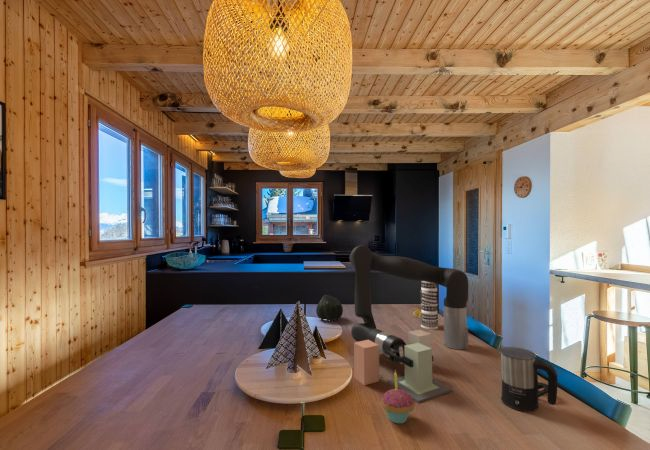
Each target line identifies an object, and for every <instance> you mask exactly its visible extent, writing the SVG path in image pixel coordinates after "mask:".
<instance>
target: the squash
mask: <svg viewBox="0 0 650 450" xmlns="http://www.w3.org/2000/svg"><path fill="white" fill-rule="evenodd" d="M343 313H344V311H343V305H342V302H341V301H340V300H339V299H337V298H336V297H334V296H332V295H330V294H324V295H323V296H322V297H321V299H320V301H318V303H317V306H316V315H317V317H318V318H319V319H320V318H321V319H327V320H330V321H331V322H333V321H337V320H339V319H340V318H341V317H342V315H343ZM321 319H320V320H321Z"/></svg>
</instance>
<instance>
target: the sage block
mask: <svg viewBox="0 0 650 450" xmlns="http://www.w3.org/2000/svg"><path fill="white" fill-rule="evenodd" d="M432 355H433V348H432V347H431V348H429V347H427V346H425V345H422V344H420V343H415V344H410V345H408V344H406V346H405V356H406V357H407V358H409V359H411V360H413V367H409V366H407V365H405V364H404V376H405V383H406V384H408V385H409V386H411V387H412V388H414V389H416V390H417V391H420V390H423V389H426V388H430V387H432V379H433V362H432Z"/></svg>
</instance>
